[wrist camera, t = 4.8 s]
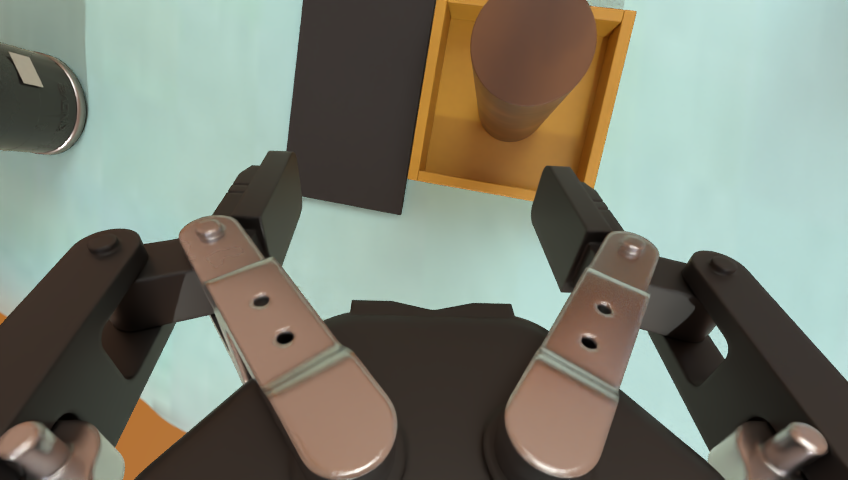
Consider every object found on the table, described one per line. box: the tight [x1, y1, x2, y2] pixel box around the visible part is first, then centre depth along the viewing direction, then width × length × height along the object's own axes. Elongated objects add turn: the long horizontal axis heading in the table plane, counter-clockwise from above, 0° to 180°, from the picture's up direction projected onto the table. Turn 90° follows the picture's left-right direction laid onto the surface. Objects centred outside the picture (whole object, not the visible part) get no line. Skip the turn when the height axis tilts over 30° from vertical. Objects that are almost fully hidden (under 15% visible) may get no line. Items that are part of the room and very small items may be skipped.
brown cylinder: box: [470, 0, 597, 142], centre depth 24 cm, size 5×5×15 cm
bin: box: [408, 0, 636, 201], centre depth 30 cm, size 14×14×4 cm
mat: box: [287, 0, 436, 215], centre depth 33 cm, size 11×20×1 cm, turn 171°
